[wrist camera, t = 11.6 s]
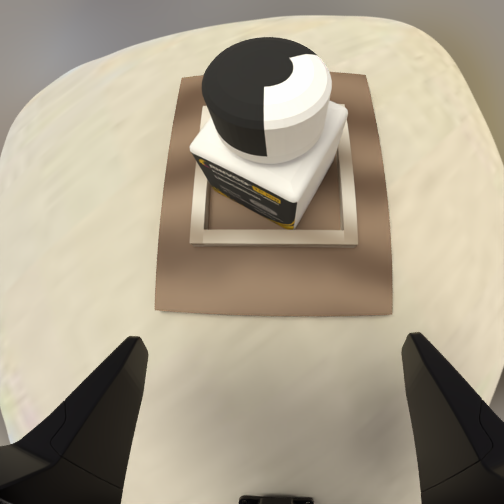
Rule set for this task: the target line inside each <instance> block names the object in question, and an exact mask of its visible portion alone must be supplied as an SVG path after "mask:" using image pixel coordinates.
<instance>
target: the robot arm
mask: <svg viewBox="0 0 504 504" xmlns="http://www.w3.org/2000/svg"><path fill="white" fill-rule="evenodd" d="M402 361H403V370H404V379H405V389H406V396H407V401H408V406H409V412H410V417H411V423H412V428H413V434H414V441H415V447H416V454H417V461H418V469H419V478H420V488H421V492H422V493H421V501H422V504H504V422H503V421H502V420H501V419H500V418H499V417H498V416H497V415H496V414H495V413H494V412H493V411H492V410H491V408H490V407H489V406H488V405H487V404H486V403H485V402H484V400H482V398H481V397H480V396H479V395H478V394H477V393H476V391H475V390H474V389H473V388H472V387H471V386H470V385H469V384H468V382H467V381H466V380H465V379H464V378H463V377H462V376H461V375H460V374H459V372H458V371H457V370H456V369H455V368H454V367H453V366H452V365H451V364H450V363H449V362H448V361H447V360H446V358H445V357H444V356H443V355H442V354H441V353H440V352H439V351H438V350H437V349H436V348H435V347H434V346H433V345H432V344H431V343H430V342H429V341H428V340H427V338H426V337H425V336H424V335H423V334H422V333H420V332H415V333H409V334H408V336H407V338H406V340H405V343H404V345H403V347H402ZM147 362H148V351H147V348H146V347H145V345H144V343H143V341H142V339H141V338H140V337H138V336H129V337H127V338H126V339H125V340H124V341H123V342H122V343H121V344H120V345H119V346H118V347H117V348H116V349H115V350H114V351H113V352H112V353H111V354H110V355H109V356H108V357H107V358H106V359H105V360H104V361H103V362H102V363H101V364H100V365H99V366H98V367H97V368H96V369H95V370H94V371H93V372H92V373H91V374H90V375H89V376H88V377H87V378H86V379H85V380H84V381H83V382H82V383H81V384H80V385H79V386H78V387H77V388H76V389H75V390H74V391H73V392H72V393H71V394H70V395H69V396H68V397H67V398H66V399H65V401H63V402H62V403H61V404H60V405H59V406H58V407H57V408H56V409H55V410H54V411H53V412H52V413H51V414H50V415H49V416H48V417H47V418H45V419H44V420H43V421H42V422H41V423H40V424H39V425H37V426H36V427H35V428H34V429H33V430H31V431H30V432H29V433H28V434H27V435H25V436H24V437H23V438H22V439H20V440H19V441H17V442H15V443H13V444H10V445H6V446H0V504H121V498H122V493H123V486H124V481H125V475H126V470H127V465H128V460H129V455H130V450H131V445H132V441H133V436H134V431H135V427H136V423H137V418H138V414H139V410H140V405H141V401H142V397H143V391H144V384H145V377H146V369H147ZM243 500H245V501H247V502H244V501H243ZM306 502H310V503H306ZM239 504H314V503H313V499H312V498H272V497H250V496H242V497H240V499H239Z"/></svg>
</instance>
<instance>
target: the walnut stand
mask: <svg viewBox="0 0 504 504" xmlns="http://www.w3.org/2000/svg"><path fill="white" fill-rule="evenodd" d="M330 75H331V80H332V88H331V94H330V99H329V100H330V101H332V102H334V103H337V104H339V105H341V106H343V107H345V108H346V109H347V110H348V116H347V120H346V123H345V126H344V129H343V132H342V136H341V139H340V142H339V145H338V148H337V151H336V154H335V157H334V160H333V162H332V164H331V166H330V168H329V170H328V171H327V173H326V175H325V177H324V179H323V180H322V182H321V184H320V186H319V187H318V189H317V191H316V193H315V195H314V196H313V198H312V200H311V202H310V203H309V205H308V207H307V209H306V211H305V212H304V214H303V216H302V218H301V219H300V221H299V223H298V225H297V226H296V228H295V229H294V230H287V229H285V228H283V227H281V226H279V225H278V224H276V223H274V222H272V221H270V220H269V219H267V218H265V217H263V216H261V215H259V214H257V213H256V212H254V211H252V210H250V209H248V208H246V207H245V206H243V205H241V204H239V203H237V202H235V201H233V200H231V199H229V198H228V197H226V196H224V195H222V194H220V193H218V192H216V191H215V190H214V189H213V188H212V186H211V185H210V183H209V181H208V180H207V178H206V176H205V175H204V173H203V171H202V170H201V168H200V166H199V165H198V163H197V161H196V160H195V158H194V156H193V155H192V153H191V152H190V145H191V143H192V142H193V140H194V139H195V138H196V136H197V135H198V134H199V132H200V131H201V129H202V128H203V127H204V125H205V124H206V123H207V121H208V120H209V119H210V118H211V116H210V113H209V111H208V108H207V106H206V103H205V100H204V98H203V95H202V79H203V76H204V75H201V76H193V77H185V78H182V80H181V84H180V89H179V94H178V100H177V105H176V110H175V116H174V121H173V127H172V133H171V140H170V146H169V153H168V160H167V167H166V174H165V182H164V190H163V199H162V208H161V218H160V229H159V240H158V254H157V269H156V288H155V310H159V311H173V312H188V313H206V314H228V315H258V316H361V315H390V314H392V254H391V236H390V222H389V210H388V200H387V191H386V182H385V174H384V167H383V160H382V153H381V147H380V141H379V135H378V130H377V124H376V119H375V114H374V109H373V105H372V100H371V96H370V91H369V87H368V83H367V79H366V75H360V74H349V73H337V72H330Z"/></svg>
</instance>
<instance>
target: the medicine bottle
mask: <svg viewBox="0 0 504 504" xmlns="http://www.w3.org/2000/svg"><path fill="white" fill-rule="evenodd" d="M331 88H332V80H331V75H330V72H329V70H328V68H327V66H326V64H325V63H324V62H323V61H322V59H321V58H320V57H319V56H317V55H316V54H315V53H314V52H313V51H311V50H310V49H308V48H307V47H305V46H303V45H301V44H299V43H297V42H294V41H291V40H287V39H282V38H273V37H262V38H254V39H249V40H245V41H242V42H239V43H237V44H234V45H232V46H230V47H229V48H227V49H225V50H224V51H223V52H221V53H220V54H219V55H218V56H217V57H216V58H215V59H214V60H213V61H212V62H211V63H210V65H209V66H208V68H207V69H206V71H205V73H204V76H203V79H202V95H203V98H204V100H205V103H206V106H207V108H208V111H209V113H210V116H211V118H210V119H209V120H208V121H207V123H206V124H205V125H204V127H203V128H202V129H201V131H200V132H199V134H198V135H197V136H196V138H195V139H194V140H193V142H192V143H191V145H190V152H191V153H192V155H193V156H194V158H195V160H196V161H197V163H198V165H199V166H200V168H201V170H202V171H203V173H204V175H205V176H206V178H207V180H208V181H209V183H210V185H211V186H212V188H213V189H214V190H215V191H216V192H218V193H220V194H222V195H224V196H226V197H228V198H229V199H231V200H233V201H235V202H237V203H239V204H241V205H243V206H245V207H246V208H248V209H250V210H252V211H254V212H256V213H257V214H259V215H261V216H263V217H265V218H267V219H269V220H270V221H272V222H274V223H276V224H278V225H279V226H281V227H283V228H285V229H287V230H294V229H295V228H296V226H297V225H298V223H299V221H300V219H301V218H302V216H303V214H304V212H305V211H306V209H307V207H308V205H309V203H310V202H311V200H312V198H313V196H314V195H315V193H316V191H317V189H318V187H319V186H320V184H321V182H322V180H323V179H324V177H325V175H326V173H327V171H328V170H329V168H330V166H331V164H332V162H333V160H334V157H335V154H336V151H337V148H338V145H339V142H340V139H341V136H342V132H343V129H344V126H345V123H346V120H347V116H348V110H347V109H346V108H345V107H343V106H341V105H339V104H337V103H334V102H332V101H330V100H329V99H330V94H331Z"/></svg>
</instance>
